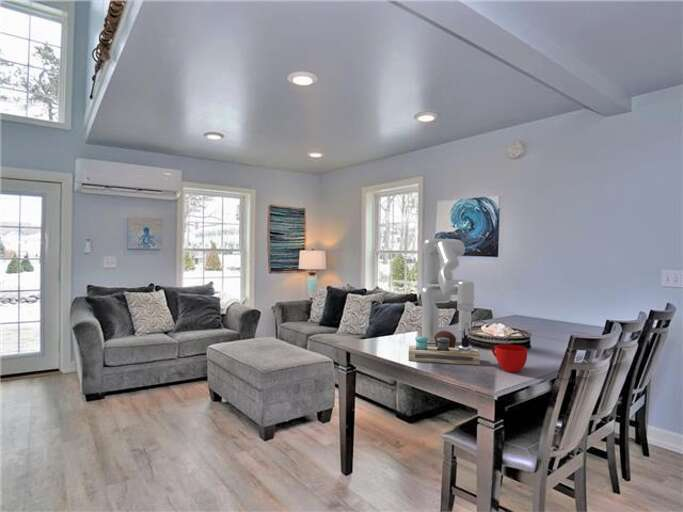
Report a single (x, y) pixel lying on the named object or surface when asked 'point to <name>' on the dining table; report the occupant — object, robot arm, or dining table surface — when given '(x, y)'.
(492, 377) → the dining table surface
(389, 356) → the dining table surface
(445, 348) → the dark gray knob
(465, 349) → the steel knob
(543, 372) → the dining table surface
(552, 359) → the dining table surface
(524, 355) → the ceramic cup
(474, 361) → the box
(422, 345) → the teal knob
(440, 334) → the muffin
